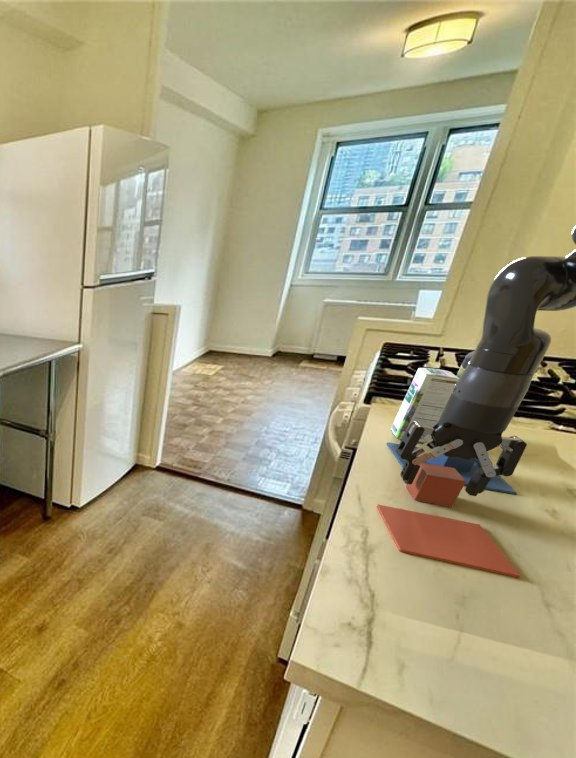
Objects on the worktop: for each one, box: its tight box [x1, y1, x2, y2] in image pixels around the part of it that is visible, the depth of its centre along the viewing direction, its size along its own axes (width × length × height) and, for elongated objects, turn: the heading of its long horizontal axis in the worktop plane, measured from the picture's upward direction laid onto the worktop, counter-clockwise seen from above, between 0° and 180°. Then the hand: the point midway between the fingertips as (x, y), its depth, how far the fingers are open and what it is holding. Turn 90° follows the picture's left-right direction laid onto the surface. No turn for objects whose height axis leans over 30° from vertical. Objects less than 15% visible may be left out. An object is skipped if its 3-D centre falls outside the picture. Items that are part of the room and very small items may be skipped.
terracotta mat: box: [376, 504, 522, 579], centre depth 72 cm, size 13×13×1 cm
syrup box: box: [390, 367, 459, 444], centre depth 101 cm, size 6×6×14 cm
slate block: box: [426, 437, 475, 472], centre depth 91 cm, size 5×5×5 cm
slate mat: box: [386, 441, 518, 495], centre depth 92 cm, size 15×15×1 cm
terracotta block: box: [406, 463, 466, 508], centre depth 81 cm, size 5×5×5 cm
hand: (437, 487), depth 81 cm, fingers open, 8 cm apart
